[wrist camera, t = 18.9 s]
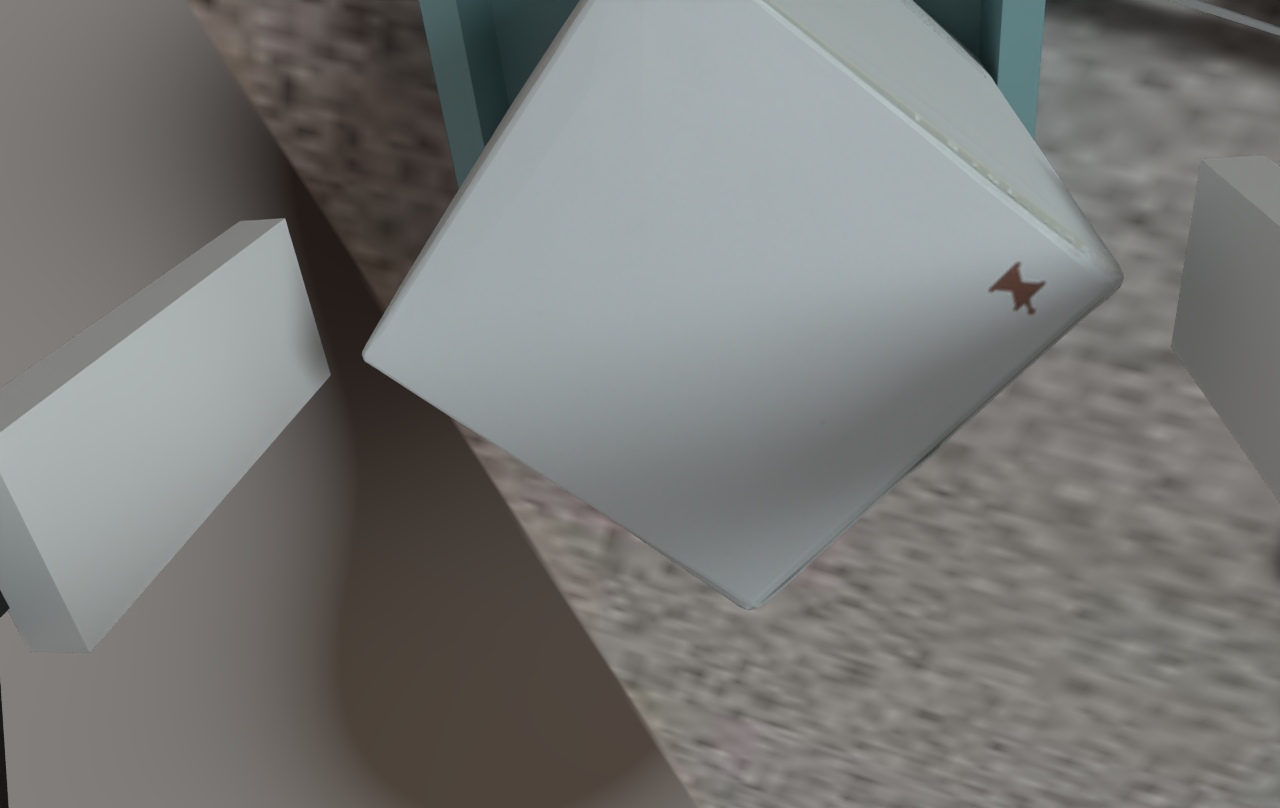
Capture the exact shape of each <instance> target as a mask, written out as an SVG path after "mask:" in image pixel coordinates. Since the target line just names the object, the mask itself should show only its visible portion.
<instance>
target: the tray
mask: <svg viewBox="0 0 1280 808" xmlns="http://www.w3.org/2000/svg"><path fill="white" fill-rule="evenodd" d="M579 1H580V0H419V4H420V8H421V13H422V18H423V23H424V27H425V32H426V37H427V42H428V46H429V51H430V56H431V61H432V65H433V70H434V75H435V80H436V84H437V89H438V94H439V99H440V103H441V108H442V113H443V118H444V122H445V127H446V132H447V137H448V141H449V146H450V151H451V156H452V160H453V165H454V170H455V175H456V179H457V184H458V189H459V188H460V187H461V185H462V183H463V182H464V180H465V179H466V177H467V175H468V174H469V172H470V170H471V169H472V167H473V166H474V164H475V162H476V161H477V159H478V158H479V156H480V154H481V153H482V151H483V150H484V148H485V146H486V145H487V143H488V141H489V140H490V138H491V137H492V135H493V133H494V132H495V130H496V129H497V127H498V125H499V124H500V122H501V121H502V119H503V117H504V116H505V114H506V113H507V111H508V109H509V108H510V106H511V105H512V103H513V102H514V100H515V98H516V97H517V95H518V94H519V92H520V91H521V89H522V88H523V86H524V85H525V83H526V82H527V80H528V78H529V77H530V75H531V74H532V72H533V71H534V69H535V68H536V66H537V65H538V63H539V61H540V60H541V58H542V57H543V55H544V54H545V52H546V51H547V49H548V48H549V46H550V45H551V43H552V42H553V40H554V39H555V37H556V35H557V34H558V32H559V31H560V29H561V28H562V26H563V25H564V23H565V22H566V20H567V19H568V17H569V16H570V14H571V13H572V11H573V10H574V8H575V7H576V5H577V4H578V2H579ZM913 1H914V2H915V3H916V4H917V5H919V6H920V7H921V8H922V9H923V10H924V11H925V12H927V13H928V14H929V15H930V16H931V17H932V18H933V19H935V20H936V21H937V22H938V23H939V24H940V25H942V26H943V27H944V28H945V29H946V30H947V31H949V32H950V33H951V34H952V35H953V36H954V37H956V38H957V39H958V40H959V41H960V42H961V43H963V44H964V45H965V46H966V47H967V48H968V49H969V50H971V51H972V52H973V53H974V54H975V55H976V56H977V57H978V58H979V60H980V61H981V62H982V64H983V65H984V67H985V68H986V70H987V72H988V73H989V75H990V76H991V78H992V79H993V81H994V82H995V84H996V85H997V87H998V88H999V89H1000V91H1001V92H1002V94H1003V96H1004V97H1005V99H1006V100H1007V102H1008V103H1009V105H1010V106H1011V108H1012V109H1013V110H1014V112H1015V113H1016V115H1017V116H1018V118H1019V119H1020V121H1021V122H1022V124H1023V125H1024V126H1025V128H1026V129H1027V131H1028V132H1029V134H1030V135H1031V137H1032V138H1033V140H1034V136H1035V123H1036V111H1037V99H1038V87H1039V75H1040V63H1041V50H1042V38H1043V26H1044V14H1045V2H1046V0H913Z"/></svg>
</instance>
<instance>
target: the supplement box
mask: <svg viewBox="0 0 1280 808" xmlns="http://www.w3.org/2000/svg"><path fill="white" fill-rule="evenodd" d="M1123 279H1124V277H1123V272H1122V270H1121V268H1120V266H1119V264H1118V263H1117V261H1116V260H1115V259H1114V257H1113V256H1112V254H1111V253H1110V252H1109V250H1108V249H1107V248H1106V246H1105V245H1104V243H1103V242H1102V240H1101V239H1100V237H1099V236H1098V235H1097V233H1096V232H1095V230H1094V229H1093V227H1092V226H1091V224H1090V223H1089V221H1088V220H1087V218H1086V217H1085V215H1084V214H1083V212H1082V211H1081V209H1080V208H1079V206H1078V205H1077V203H1076V202H1075V200H1074V199H1073V198H1072V196H1071V195H1070V193H1069V192H1068V190H1067V189H1066V187H1065V186H1064V184H1063V183H1062V181H1061V180H1060V178H1059V177H1058V175H1057V174H1056V172H1055V171H1054V170H1053V168H1052V167H1051V165H1050V164H1049V162H1048V161H1047V159H1046V158H1045V156H1044V155H1043V153H1042V152H1041V150H1040V149H1039V147H1038V146H1037V144H1036V143H1035V141H1034V140H1033V138H1032V137H1031V135H1030V134H1029V132H1028V131H1027V129H1026V128H1025V126H1024V125H1023V124H1022V122H1021V121H1020V119H1019V118H1018V116H1017V115H1016V113H1015V112H1014V110H1013V109H1012V108H1011V106H1010V105H1009V103H1008V102H1007V100H1006V99H1005V97H1004V96H1003V94H1002V92H1001V91H1000V89H999V88H998V87H997V85H996V84H995V82H994V81H993V79H992V78H991V76H990V75H989V73H988V72H987V70H986V68H985V67H984V65H983V64H982V62H981V61H980V60H979V58H978V57H977V56H976V55H975V54H974V53H973V52H972V51H971V50H969V49H968V48H967V47H966V46H965V45H964V44H963V43H961V42H960V41H959V40H958V39H957V38H956V37H954V36H953V35H952V34H951V33H950V32H949V31H947V30H946V29H945V28H944V27H943V26H942V25H940V24H939V23H938V22H937V21H936V20H935V19H933V18H932V17H931V16H930V15H929V14H928V13H927V12H925V11H924V10H923V9H922V8H921V7H920V6H919V5H917V4H916V3H915V2H914V1H913V0H580V1H579V2H578V4H577V5H576V7H575V8H574V10H573V11H572V13H571V14H570V16H569V17H568V19H567V20H566V22H565V23H564V25H563V26H562V28H561V29H560V31H559V32H558V34H557V35H556V37H555V39H554V40H553V42H552V43H551V45H550V46H549V48H548V49H547V51H546V52H545V54H544V55H543V57H542V58H541V60H540V61H539V63H538V65H537V66H536V68H535V69H534V71H533V72H532V74H531V75H530V77H529V78H528V80H527V82H526V83H525V85H524V86H523V88H522V89H521V91H520V92H519V94H518V95H517V97H516V98H515V100H514V102H513V103H512V105H511V106H510V108H509V109H508V111H507V113H506V114H505V116H504V117H503V119H502V121H501V122H500V124H499V125H498V127H497V129H496V130H495V132H494V133H493V135H492V137H491V138H490V140H489V141H488V143H487V145H486V146H485V148H484V150H483V151H482V153H481V154H480V156H479V158H478V159H477V161H476V162H475V164H474V166H473V167H472V169H471V170H470V172H469V174H468V175H467V177H466V179H465V180H464V182H463V183H462V185H461V187H460V188H459V190H458V192H457V193H456V195H455V196H454V198H453V200H452V201H451V203H450V205H449V206H448V208H447V210H446V211H445V213H444V215H443V216H442V218H441V219H440V221H439V223H438V224H437V226H436V228H435V229H434V231H433V233H432V234H431V236H430V238H429V239H428V241H427V242H426V244H425V246H424V247H423V249H422V251H421V252H420V254H419V256H418V257H417V259H416V261H415V262H414V264H413V265H412V267H411V269H410V270H409V272H408V274H407V275H406V277H405V279H404V280H403V282H402V283H401V285H400V287H399V288H398V290H397V292H396V294H395V295H394V297H393V299H392V301H391V302H390V304H389V306H388V307H387V309H386V311H385V313H384V314H383V316H382V318H381V320H380V321H379V323H378V325H377V326H376V328H375V330H374V331H373V333H372V335H371V337H370V338H369V340H368V342H367V344H366V346H365V348H364V350H363V352H362V357H363V359H364V361H365V362H366V363H368V364H370V365H371V366H373V367H375V368H376V369H378V370H379V371H381V372H382V373H384V374H386V375H387V376H389V377H390V378H392V379H393V380H395V381H396V382H398V383H399V384H401V385H402V386H404V387H405V388H407V389H408V390H410V391H412V392H413V393H415V394H416V395H418V396H419V397H421V398H422V399H424V400H425V401H427V402H429V403H430V404H432V405H434V406H435V407H436V408H438V409H439V410H441V411H442V412H444V413H446V414H447V415H449V416H450V417H452V418H453V419H455V420H456V421H458V422H459V423H461V424H463V425H464V426H466V427H467V428H469V429H471V430H472V431H474V432H475V433H477V434H478V435H480V436H482V437H483V438H485V439H486V440H488V441H489V442H491V443H493V444H494V445H496V446H497V447H499V448H500V449H502V450H503V451H505V452H506V453H508V454H509V455H511V456H512V457H514V458H516V459H517V460H519V461H520V462H522V463H523V464H525V465H526V466H528V467H530V468H531V469H533V470H534V471H536V472H537V473H539V474H541V475H542V476H544V477H545V478H547V479H548V480H550V481H551V482H553V483H555V484H556V485H558V486H559V487H561V488H562V489H564V490H566V491H567V492H569V493H570V494H572V495H573V496H575V497H577V498H578V499H580V500H581V501H583V502H585V503H586V504H588V505H590V506H591V507H593V508H594V509H596V510H598V511H599V512H601V513H602V514H604V515H605V516H607V517H608V518H610V519H611V520H613V521H614V522H616V523H617V524H619V525H620V526H621V527H623V528H624V529H626V530H627V531H629V532H630V533H632V534H633V535H635V536H636V537H638V538H639V539H641V540H642V541H644V542H645V543H646V544H648V545H649V546H651V547H652V548H654V549H655V550H657V551H658V552H660V553H661V554H663V555H664V556H665V557H667V558H668V559H670V560H671V561H673V562H674V563H676V564H677V565H679V566H680V567H682V568H683V569H685V570H686V571H688V572H689V573H691V574H692V575H694V576H695V577H697V578H698V579H700V580H701V581H703V582H704V583H706V584H708V585H709V586H711V587H712V588H714V589H715V590H717V591H718V592H719V593H721V594H722V595H724V596H725V597H727V598H728V599H729V600H731V601H732V602H734V603H735V604H736V605H738V606H739V607H741V608H743V609H746V610H752V609H755V608H757V607H760V606H762V605H764V604H765V603H767V602H768V601H769V600H771V599H772V598H773V597H774V596H775V595H776V594H777V593H778V592H779V591H780V590H781V589H782V588H784V587H785V586H786V585H787V584H788V583H789V582H791V581H792V580H793V579H794V578H795V577H796V576H797V575H798V574H799V573H800V572H801V571H803V570H804V569H805V568H806V567H807V566H808V565H809V564H810V563H811V562H812V561H813V560H814V559H815V558H816V557H817V556H819V555H820V554H821V553H822V552H823V551H824V550H825V549H826V548H828V547H829V546H830V545H831V544H832V543H833V542H834V541H836V540H837V539H838V538H839V537H840V536H841V535H842V534H843V533H845V532H846V531H847V530H848V529H849V528H850V527H851V526H852V525H854V524H855V523H856V522H857V521H858V520H859V519H860V518H861V517H862V516H863V515H865V514H866V513H867V512H868V511H869V510H870V509H871V508H872V507H873V506H874V505H876V504H877V503H878V502H879V501H880V500H881V499H882V498H883V497H885V496H886V495H887V494H888V493H889V492H890V491H891V490H892V489H894V488H895V487H896V486H897V485H898V484H899V483H901V482H902V481H903V480H904V479H905V478H906V477H908V476H909V475H910V474H911V473H912V472H914V471H915V470H917V469H918V468H919V467H921V466H922V465H923V464H924V463H925V462H926V461H927V460H928V459H929V458H930V457H932V456H933V455H934V454H935V453H936V452H938V450H939V449H940V448H941V447H942V446H943V445H944V444H945V443H946V442H947V441H948V440H949V439H950V438H951V437H952V436H953V435H954V434H955V433H956V432H957V431H958V430H959V429H960V428H962V427H963V426H964V425H965V424H966V423H967V422H968V421H969V420H971V419H972V418H973V417H974V416H975V415H976V414H977V413H979V412H980V411H981V410H982V409H983V408H984V407H985V406H986V405H987V404H988V403H989V402H991V401H992V400H993V399H994V398H995V397H996V396H997V395H998V394H999V393H1001V392H1002V391H1003V390H1004V389H1005V388H1006V387H1007V386H1008V385H1009V384H1011V383H1012V382H1013V381H1014V380H1015V379H1016V378H1017V377H1018V376H1020V375H1021V374H1022V373H1023V372H1024V371H1025V370H1026V369H1027V368H1028V367H1030V366H1031V365H1032V364H1033V363H1034V362H1035V361H1036V360H1038V359H1039V358H1040V357H1041V356H1042V355H1043V354H1044V353H1045V352H1047V351H1048V350H1049V349H1050V348H1051V347H1052V346H1053V345H1054V344H1056V343H1057V342H1058V341H1059V340H1060V339H1061V338H1062V337H1063V336H1064V335H1066V334H1067V333H1068V332H1069V331H1070V330H1071V329H1072V328H1073V327H1074V326H1076V325H1077V324H1078V323H1079V322H1080V321H1081V320H1082V319H1084V318H1085V317H1086V316H1087V315H1088V314H1089V313H1090V312H1092V311H1093V310H1094V309H1095V308H1097V307H1098V306H1099V305H1101V304H1102V303H1103V302H1104V301H1106V300H1107V299H1108V298H1109V297H1110V296H1111V295H1112V294H1113V293H1114V292H1115V291H1117V290H1118V289H1119V288H1120V286H1121V284H1122V282H1123Z"/></svg>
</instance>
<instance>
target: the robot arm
mask: <svg viewBox="0 0 1280 808" xmlns="http://www.w3.org/2000/svg"><path fill="white" fill-rule="evenodd" d="M1171 347H1172V349H1173V350H1174V352H1175V353H1176V355H1177V356H1178V357H1179V359H1180V360H1181V362H1182V363H1183V365H1184V366H1185V367H1186V369H1187V370H1188V372H1189V373H1190V375H1191V376H1192V378H1193V379H1194V380H1195V382H1196V383H1197V385H1198V386H1199V388H1200V389H1201V391H1202V392H1203V393H1204V395H1205V396H1206V398H1207V399H1208V401H1209V402H1210V403H1211V405H1212V406H1213V408H1214V409H1215V411H1216V412H1217V414H1218V415H1219V416H1220V418H1221V419H1222V421H1223V422H1224V424H1225V425H1226V426H1227V428H1228V429H1229V431H1230V432H1231V434H1232V435H1233V437H1234V438H1235V439H1236V441H1237V442H1238V444H1239V445H1240V447H1241V448H1242V449H1243V451H1244V452H1245V454H1246V455H1247V457H1248V458H1249V460H1250V461H1251V462H1252V464H1253V465H1254V467H1255V468H1256V470H1257V471H1258V473H1259V474H1260V475H1261V477H1262V478H1263V480H1264V481H1265V483H1266V484H1267V485H1268V487H1269V488H1270V490H1271V491H1272V493H1273V494H1274V496H1275V497H1276V498H1277V500H1278V501H1279V503H1280V166H1279V165H1277V164H1276V163H1275V162H1273V161H1272V160H1270V159H1269V158H1268V157H1266V156H1265V155H1260V156H1245V157H1229V158H1214V159H1201V162H1200V169H1199V175H1198V181H1197V187H1196V194H1195V200H1194V206H1193V213H1192V219H1191V225H1190V231H1189V238H1188V244H1187V250H1186V257H1185V263H1184V269H1183V275H1182V282H1181V288H1180V294H1179V300H1178V307H1177V313H1176V319H1175V326H1174V332H1173V338H1172V344H1171ZM330 376H331V374H330V370H329V367H328V364H327V360H326V357H325V353H324V350H323V347H322V344H321V340H320V337H319V333H318V330H317V326H316V323H315V319H314V316H313V312H312V309H311V306H310V302H309V299H308V295H307V292H306V288H305V285H304V282H303V278H302V275H301V271H300V268H299V265H298V261H297V258H296V254H295V251H294V247H293V244H292V241H291V237H290V234H289V230H288V227H287V223H286V220H285V218H280V219H265V220H250V221H239V222H238V223H237V224H235V225H234V226H232V227H231V228H229V229H228V230H226V231H225V232H224V233H222V234H221V235H219V236H218V237H216V238H215V239H214V240H212V241H211V242H209V243H208V244H206V245H205V246H204V247H202V248H201V249H199V250H198V251H197V252H195V253H194V254H192V255H191V256H190V257H188V258H186V259H185V260H183V261H182V262H181V263H179V264H178V265H176V266H175V267H173V268H172V269H171V270H169V271H168V272H166V273H165V274H163V275H162V276H161V277H159V278H158V279H156V280H155V281H153V282H152V283H151V284H149V285H148V286H146V287H145V288H143V289H142V290H141V291H139V292H138V293H136V294H135V295H133V296H132V297H130V298H129V299H128V300H126V301H125V302H123V303H122V304H120V305H119V306H118V307H116V308H115V309H113V310H112V311H110V312H109V313H108V314H106V315H105V316H104V317H102V318H101V319H99V320H97V321H96V322H95V323H93V324H92V325H90V326H89V327H87V328H86V329H85V330H83V331H82V332H80V333H79V334H78V335H76V336H75V337H73V338H72V339H70V340H69V341H67V342H66V343H65V344H63V345H62V346H61V347H59V348H57V349H56V350H54V351H53V352H52V353H50V354H49V355H47V356H46V357H45V358H43V359H42V360H40V361H39V362H37V363H36V364H34V365H33V366H32V367H30V368H29V369H27V370H26V371H24V372H23V373H22V374H20V375H19V376H17V377H16V378H14V379H13V380H11V381H10V382H9V383H7V384H6V385H4V386H3V387H2V388H0V617H1V616H2V615H3V614H4V613H5V612H6V611H7V610H8V612H9V614H10V616H11V618H12V619H13V621H14V623H15V625H16V627H17V629H18V631H19V633H20V634H21V636H22V638H23V640H24V642H25V644H26V646H27V647H28V649H29V651H30V652H57V653H58V652H59V653H60V652H61V653H90V652H91V651H92V650H93V649H94V648H95V647H96V645H97V644H98V643H99V642H100V641H101V640H102V639H103V637H104V636H105V635H106V634H107V633H108V632H109V630H110V629H111V628H112V627H113V626H114V625H115V624H116V622H117V621H118V620H119V619H120V618H121V617H122V615H123V614H124V613H125V612H126V611H127V610H128V609H129V607H130V606H131V605H132V604H133V603H134V602H135V600H136V599H137V598H138V597H139V596H140V595H141V594H142V592H143V591H144V590H145V589H146V588H147V587H148V585H149V584H150V583H151V582H152V581H153V580H154V579H155V577H156V576H157V575H158V574H159V573H160V572H161V570H162V569H163V568H164V567H165V566H166V565H167V564H168V562H169V561H170V560H171V559H172V558H173V557H174V555H175V554H176V553H177V552H178V551H179V550H180V549H181V547H182V546H183V545H184V544H185V543H186V542H187V541H188V539H189V538H190V537H191V536H192V535H193V533H194V532H195V531H196V530H197V529H198V528H199V527H200V526H201V524H202V523H203V522H204V521H205V520H206V518H207V517H208V516H209V515H210V514H211V512H213V511H214V509H215V508H216V507H217V506H218V505H219V504H220V502H221V501H222V500H223V499H224V498H225V496H227V494H228V493H229V492H230V491H231V490H232V489H233V487H234V486H235V485H236V484H237V483H238V482H239V480H240V479H241V478H242V477H243V476H244V475H245V474H246V472H247V471H248V470H249V469H250V468H251V467H252V466H253V464H254V463H255V462H256V461H257V460H258V459H259V457H260V456H261V455H262V454H263V453H264V451H266V449H267V448H268V447H269V446H270V445H271V444H272V442H273V441H274V440H275V439H276V438H277V437H278V436H279V434H280V433H281V432H282V431H283V430H284V428H285V427H286V426H287V425H288V424H289V423H290V422H291V421H292V419H293V418H294V417H295V416H296V415H297V414H298V412H299V411H300V410H301V409H302V408H303V407H304V406H305V404H306V403H307V402H308V401H309V400H310V398H311V397H312V396H313V395H314V394H315V393H316V392H317V391H318V389H319V388H320V387H321V386H322V385H323V383H324V382H325V381H326V380H327V379H328V378H329V377H330ZM3 732H4V731H3V716H2V701H1V686H0V808H9V807H8V792H7V778H6V762H5V746H4V733H3Z"/></svg>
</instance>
